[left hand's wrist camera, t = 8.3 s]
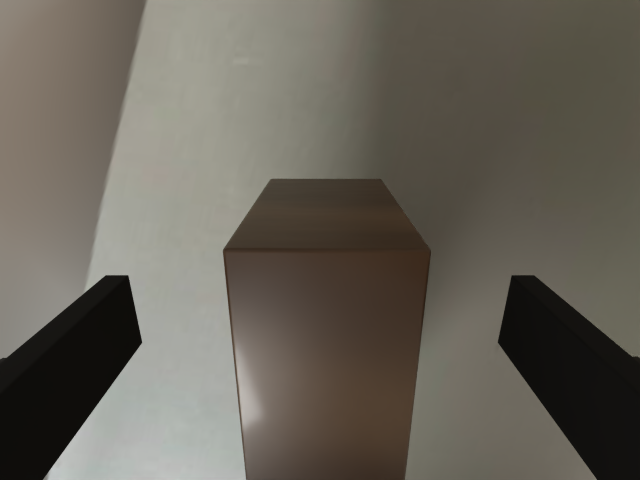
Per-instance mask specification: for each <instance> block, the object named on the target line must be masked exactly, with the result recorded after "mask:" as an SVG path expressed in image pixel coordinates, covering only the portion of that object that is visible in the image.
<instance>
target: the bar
mask: <svg viewBox="0 0 640 480" xmlns="http://www.w3.org/2000/svg"><path fill="white" fill-rule="evenodd" d="M430 256H431V251H430V249H429V247H428V246H427V244H426V243H425V242H424V240H423V239H422V237H421V236H420V234H419V233H418V232H417V230H416V229H415V227H414V226H413V224H412V223H411V222H410V220H409V219H408V217H407V216H406V214H405V213H404V212H403V210H402V209H401V207H400V206H399V204H398V203H397V202H396V200H395V199H394V197H393V196H392V194H391V193H390V192H389V190H388V189H387V187H386V186H385V184H384V183H383V182H382V180H381V179H270V181H269V182H268V184H267V185H266V187H265V188H264V190H263V191H262V193H261V194H260V196H259V197H258V199H257V200H256V202H255V203H254V205H253V206H252V208H251V209H250V211H249V212H248V214H247V215H246V217H245V218H244V220H243V221H242V222H241V224H240V225H239V227H238V228H237V230H236V231H235V233H234V234H233V236H232V237H231V239H230V240H229V242H228V243H227V245H226V246H225V248H224V250H223V257H224V266H225V276H226V286H227V296H228V306H229V315H230V325H231V335H232V345H233V355H234V364H235V374H236V384H237V394H238V404H239V413H240V423H241V433H242V443H243V453H244V462H245V472H246V480H405V474H406V465H407V457H408V448H409V439H410V430H411V422H412V413H413V404H414V395H415V387H416V378H417V369H418V361H419V352H420V343H421V334H422V326H423V317H424V308H425V300H426V291H427V282H428V273H429V265H430Z"/></svg>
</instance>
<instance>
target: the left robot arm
mask: <svg viewBox="0 0 640 480" xmlns="http://www.w3.org/2000/svg"><path fill="white" fill-rule="evenodd" d="M141 343H142V339H141V335H140V330H139V325H138V320H137V315H136V311H135V306H134V301H133V296H132V291H131V286H130V282H129V277H128V275H106V276H105V277H103V278H102V279H101V280H100V281H99V282H97V283H96V284H95V285H94V286H93V287H91V288H90V289H89V290H88V291H87V292H85V293H84V294H83V295H82V296H81V297H79V298H78V299H77V300H76V301H75V302H73V303H72V304H71V305H70V306H69V307H67V308H66V309H65V310H64V311H63V312H61V313H60V314H59V315H58V316H57V317H55V318H54V319H53V320H52V321H51V322H49V323H48V324H47V325H46V326H44V327H43V328H42V329H41V330H40V331H38V332H37V333H36V334H35V335H34V336H32V337H31V338H30V339H29V340H28V341H26V342H25V343H24V344H23V345H22V346H20V347H19V348H18V349H17V350H16V351H14V352H13V353H12V354H11V355H10V356H8V357H7V358H2V359H0V480H43V479H44V477H45V476H46V475H47V473H48V472H49V470H50V469H51V468H52V466H53V465H54V463H55V462H56V461H57V459H58V458H59V457H60V455H61V454H62V452H63V451H64V450H65V448H66V447H67V446H68V444H69V443H70V441H71V440H72V439H73V437H74V436H75V435H76V433H77V432H78V430H79V429H80V428H81V426H82V425H83V423H84V422H85V421H86V419H87V418H88V417H89V415H90V414H91V412H92V411H93V410H94V408H95V407H96V406H97V404H98V403H99V401H100V400H101V399H102V397H103V396H104V395H105V393H106V392H107V390H108V389H109V388H110V386H111V385H112V383H113V382H114V381H115V379H116V378H117V377H118V375H119V374H120V372H121V371H122V370H123V368H124V367H125V366H126V364H127V363H128V361H129V360H130V359H131V357H132V356H133V355H134V353H135V352H136V350H137V349H138V348H139V346H140V345H141ZM498 343H499V345H500V346H501V348H502V349H503V350H504V352H505V353H506V355H507V356H508V357H509V359H510V360H511V361H512V363H513V364H514V366H515V367H516V368H517V370H518V371H519V372H520V374H521V375H522V377H523V378H524V379H525V381H526V382H527V383H528V385H529V386H530V388H531V389H532V390H533V392H534V393H535V395H536V396H537V397H538V399H539V400H540V401H541V403H542V404H543V406H544V407H545V408H546V410H547V411H548V412H549V414H550V415H551V417H552V418H553V419H554V421H555V422H556V423H557V425H558V426H559V428H560V429H561V430H562V432H563V433H564V435H565V436H566V437H567V439H568V440H569V441H570V443H571V444H572V446H573V447H574V448H575V450H576V451H577V452H578V454H579V455H580V457H581V458H582V459H583V461H584V462H585V463H586V465H587V466H588V468H589V469H590V470H591V472H592V473H593V475H594V476H595V477H596V479H597V480H640V358H639V357H632V356H630V355H629V354H628V353H627V352H626V351H624V350H623V349H622V348H621V347H620V346H618V345H617V344H616V343H615V342H614V341H612V340H611V339H610V338H609V337H608V336H606V335H605V334H604V333H603V332H602V331H600V330H599V329H598V328H597V327H596V326H594V325H593V324H592V323H591V322H590V321H588V320H587V319H586V318H585V317H584V316H582V315H581V314H580V313H579V312H578V311H576V310H575V309H574V308H573V307H571V306H570V305H569V304H568V303H567V302H565V301H564V300H563V299H562V298H561V297H559V296H558V295H557V294H556V293H555V292H553V291H552V290H551V289H550V288H549V287H547V286H546V285H545V284H544V283H543V282H541V281H540V280H539V279H538V278H537V277H535V276H534V275H512V277H511V282H510V286H509V291H508V296H507V301H506V306H505V311H504V315H503V320H502V325H501V330H500V335H499V339H498Z"/></svg>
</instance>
